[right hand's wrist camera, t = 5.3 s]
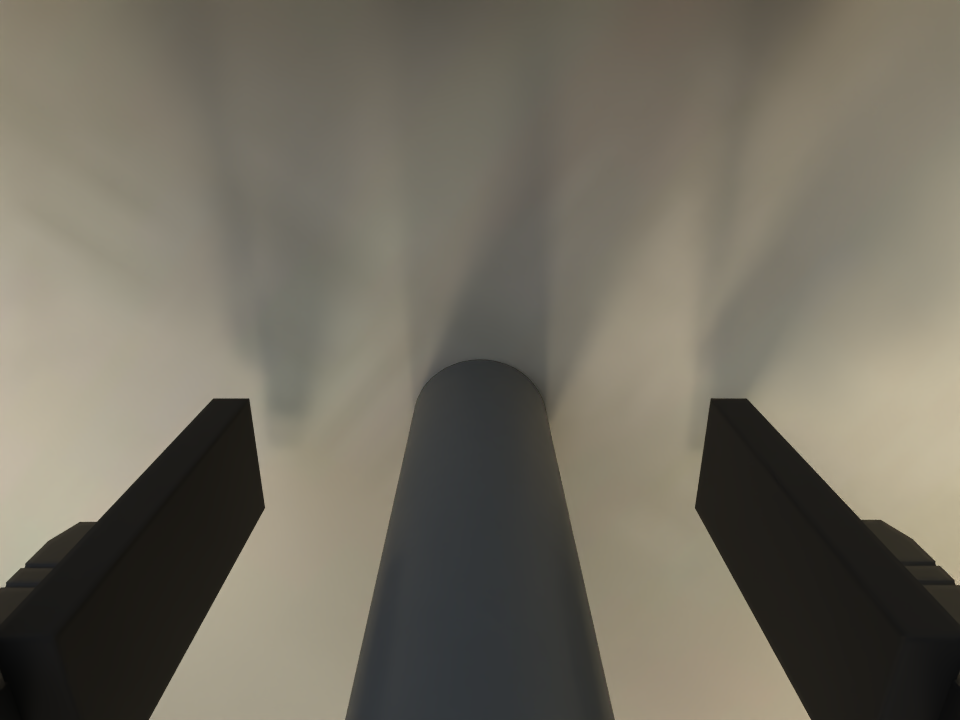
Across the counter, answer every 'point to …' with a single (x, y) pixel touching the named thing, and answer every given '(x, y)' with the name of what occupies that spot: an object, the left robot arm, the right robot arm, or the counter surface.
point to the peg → (479, 568)
